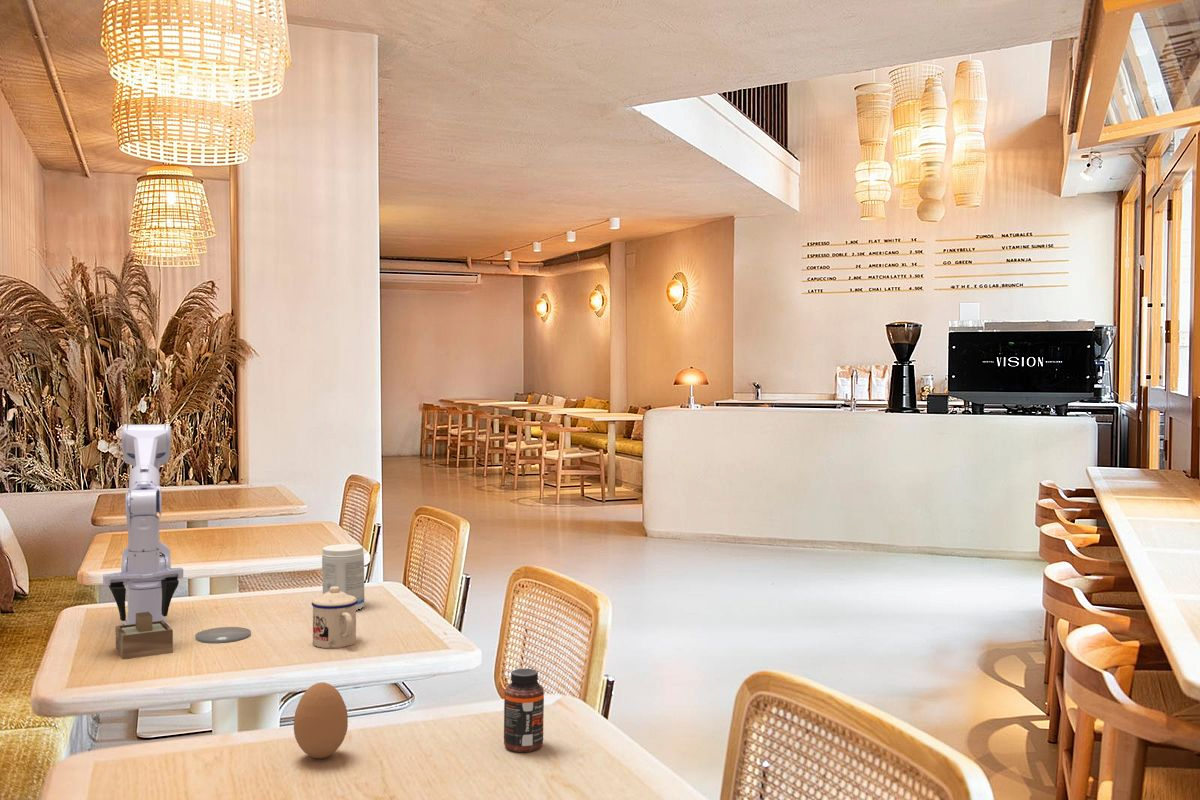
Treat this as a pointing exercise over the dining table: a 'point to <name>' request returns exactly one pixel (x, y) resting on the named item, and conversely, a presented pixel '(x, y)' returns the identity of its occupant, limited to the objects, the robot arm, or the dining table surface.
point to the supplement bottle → (523, 712)
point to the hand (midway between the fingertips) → (143, 617)
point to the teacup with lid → (334, 619)
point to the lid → (143, 624)
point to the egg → (320, 721)
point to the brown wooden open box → (144, 642)
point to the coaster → (223, 635)
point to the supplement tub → (344, 570)
